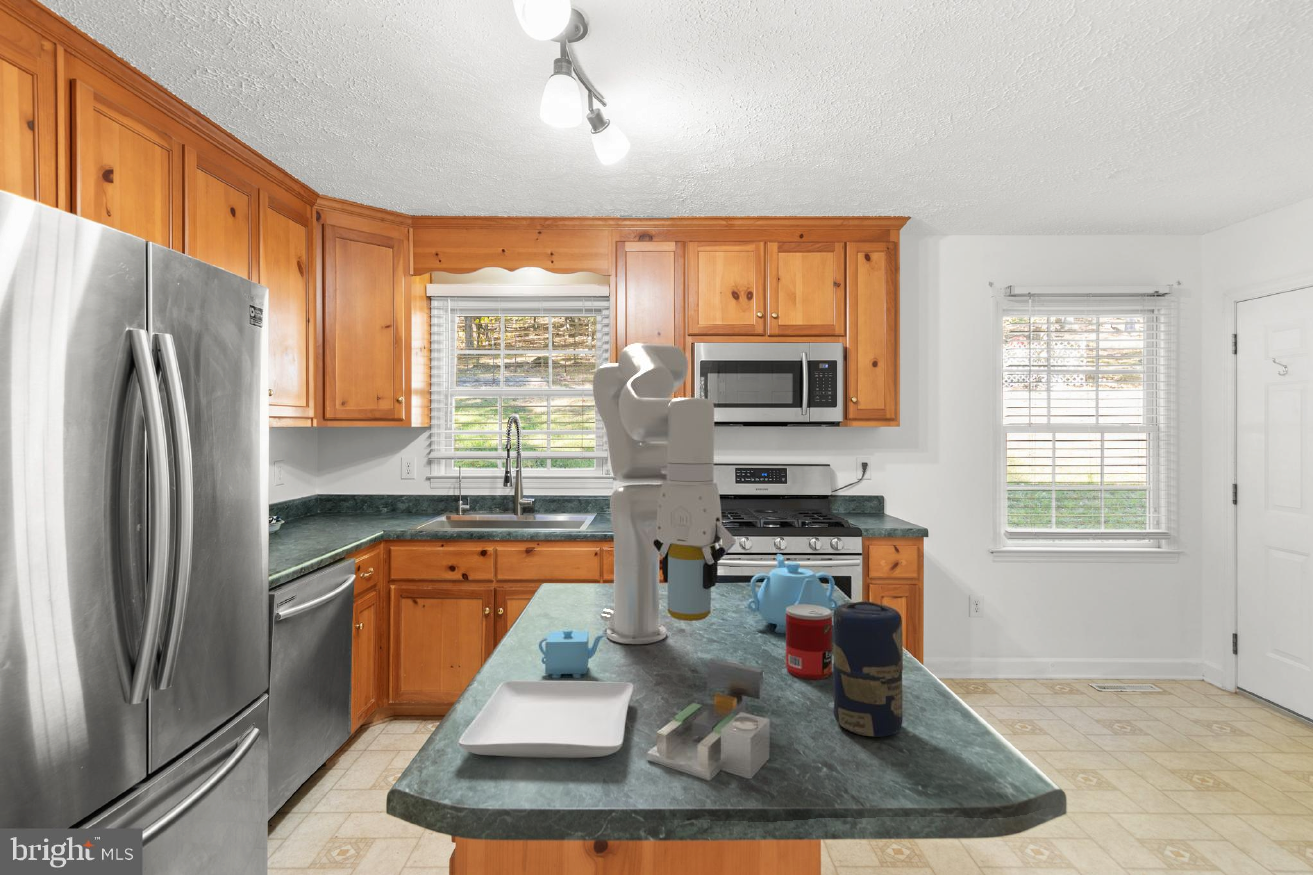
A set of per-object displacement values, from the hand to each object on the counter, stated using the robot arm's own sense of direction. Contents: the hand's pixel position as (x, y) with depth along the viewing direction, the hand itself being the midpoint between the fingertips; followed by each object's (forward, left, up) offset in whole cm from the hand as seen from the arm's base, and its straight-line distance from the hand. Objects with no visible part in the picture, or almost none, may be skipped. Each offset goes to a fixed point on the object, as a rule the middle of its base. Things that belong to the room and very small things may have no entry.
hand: (689, 582), depth 101 cm
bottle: (0, 0, -5) cm, 5 cm away
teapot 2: (+2, +44, -18) cm, 47 cm away
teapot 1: (-22, -3, -18) cm, 29 cm away
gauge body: (+12, -16, -18) cm, 27 cm away
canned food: (+13, +20, -18) cm, 30 cm away
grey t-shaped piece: (+10, -9, -16) cm, 22 cm away
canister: (+27, +4, -18) cm, 33 cm away
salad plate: (-10, -21, -18) cm, 30 cm away
